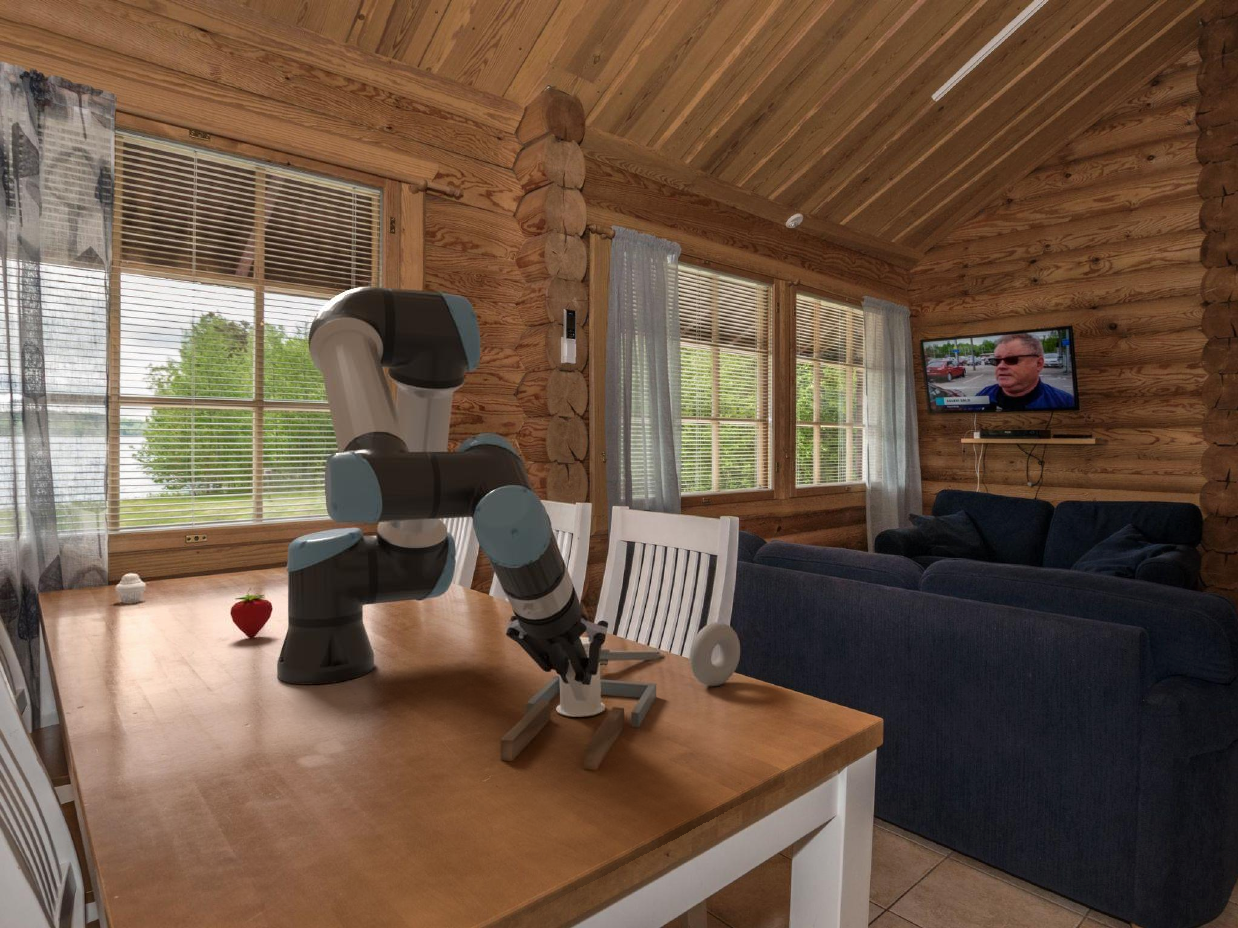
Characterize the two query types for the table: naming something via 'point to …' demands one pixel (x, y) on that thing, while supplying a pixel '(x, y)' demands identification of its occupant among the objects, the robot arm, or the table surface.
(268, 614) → the strawberry
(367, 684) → the table surface
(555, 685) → the open frame
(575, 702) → the downlight
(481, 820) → the table surface
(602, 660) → the caliper
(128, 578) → the muffin
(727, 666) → the donut
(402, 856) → the table surface
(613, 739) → the slot
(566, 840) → the table surface
